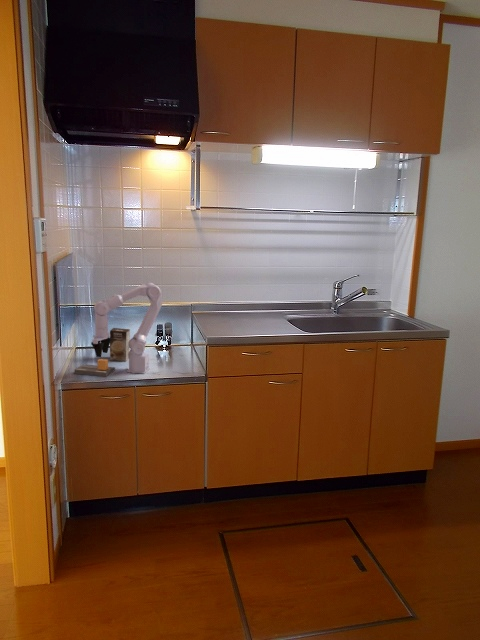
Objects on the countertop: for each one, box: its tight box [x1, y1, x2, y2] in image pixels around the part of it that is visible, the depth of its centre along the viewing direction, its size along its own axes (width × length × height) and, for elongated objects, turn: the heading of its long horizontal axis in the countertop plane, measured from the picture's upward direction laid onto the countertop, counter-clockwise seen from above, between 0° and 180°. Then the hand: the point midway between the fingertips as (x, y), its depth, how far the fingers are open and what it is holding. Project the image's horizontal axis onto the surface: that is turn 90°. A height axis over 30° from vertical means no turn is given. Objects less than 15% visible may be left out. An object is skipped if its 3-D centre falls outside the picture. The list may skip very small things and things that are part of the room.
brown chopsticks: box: [85, 363, 116, 371], centre depth 249 cm, size 16×2×1 cm, turn 80°
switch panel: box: [74, 364, 114, 378], centre depth 243 cm, size 16×8×2 cm, turn 80°
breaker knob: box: [97, 358, 109, 370], centre depth 241 cm, size 4×3×4 cm
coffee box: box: [109, 327, 131, 362], centre depth 264 cm, size 9×6×16 cm
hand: (101, 354), depth 240 cm, fingers open, 6 cm apart
